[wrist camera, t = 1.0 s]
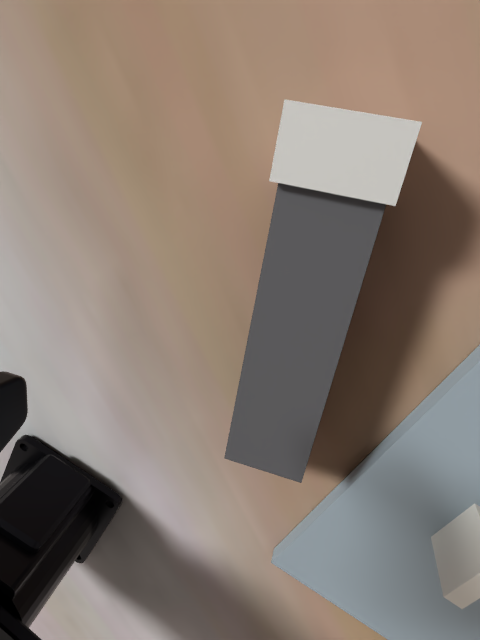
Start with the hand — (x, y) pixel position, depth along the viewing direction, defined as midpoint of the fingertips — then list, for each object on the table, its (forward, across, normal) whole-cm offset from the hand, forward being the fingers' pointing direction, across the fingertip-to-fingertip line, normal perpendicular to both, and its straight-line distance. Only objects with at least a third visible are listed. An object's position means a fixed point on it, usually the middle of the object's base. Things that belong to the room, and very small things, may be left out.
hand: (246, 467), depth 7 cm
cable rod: (+10, 0, 0) cm, 10 cm away
